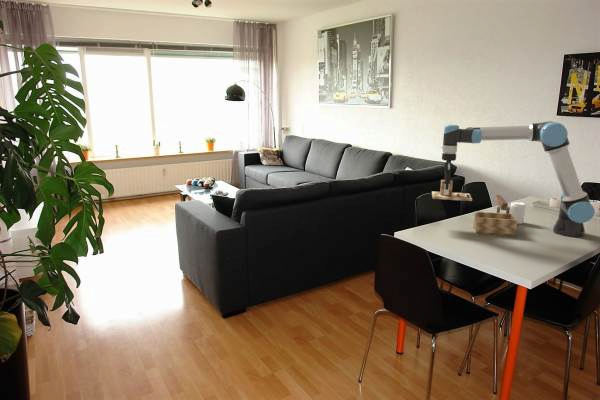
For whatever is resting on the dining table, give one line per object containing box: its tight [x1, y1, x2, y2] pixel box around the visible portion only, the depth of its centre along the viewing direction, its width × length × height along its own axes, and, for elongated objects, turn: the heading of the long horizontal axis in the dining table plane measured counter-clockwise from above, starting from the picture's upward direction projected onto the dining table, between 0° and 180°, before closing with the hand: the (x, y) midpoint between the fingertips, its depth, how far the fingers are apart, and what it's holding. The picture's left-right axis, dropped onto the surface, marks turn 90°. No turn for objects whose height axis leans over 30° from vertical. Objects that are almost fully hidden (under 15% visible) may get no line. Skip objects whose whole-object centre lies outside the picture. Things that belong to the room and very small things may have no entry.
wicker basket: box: [472, 205, 518, 237], centre depth 250 cm, size 20×20×12 cm
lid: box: [431, 179, 473, 202], centre depth 249 cm, size 21×14×9 cm
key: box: [494, 194, 509, 211], centre depth 263 cm, size 3×24×4 cm, turn 165°
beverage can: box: [509, 201, 526, 225], centre depth 264 cm, size 8×8×12 cm
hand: (445, 193), depth 250 cm, fingers closed on lid, 4 cm apart
